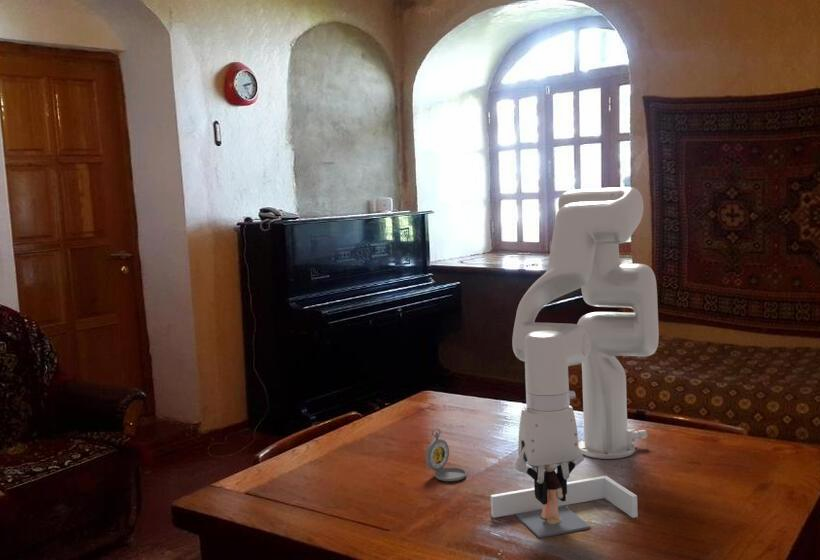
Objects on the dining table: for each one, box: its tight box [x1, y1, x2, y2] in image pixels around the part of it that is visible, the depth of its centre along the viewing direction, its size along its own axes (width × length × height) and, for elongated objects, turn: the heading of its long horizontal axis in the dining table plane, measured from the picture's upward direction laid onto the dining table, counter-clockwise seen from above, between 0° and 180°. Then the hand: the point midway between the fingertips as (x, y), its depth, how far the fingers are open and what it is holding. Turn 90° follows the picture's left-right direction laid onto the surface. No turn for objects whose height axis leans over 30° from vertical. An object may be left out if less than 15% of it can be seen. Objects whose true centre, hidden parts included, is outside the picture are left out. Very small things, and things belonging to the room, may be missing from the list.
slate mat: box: [515, 505, 592, 539], centre depth 145 cm, size 10×10×1 cm
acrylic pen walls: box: [490, 475, 639, 519], centre depth 147 cm, size 24×11×4 cm, turn 106°
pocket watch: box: [425, 427, 467, 482], centre depth 171 cm, size 8×8×10 cm
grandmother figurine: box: [541, 463, 563, 524], centre depth 144 cm, size 8×4×13 cm, turn 25°
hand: (551, 499), depth 144 cm, fingers closed on grandmother figurine, 3 cm apart
